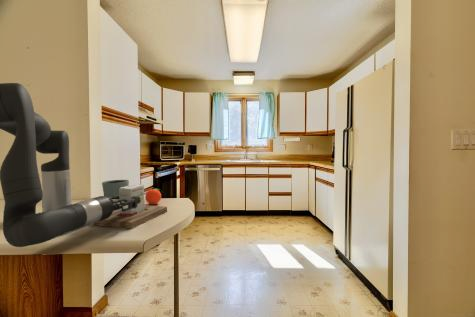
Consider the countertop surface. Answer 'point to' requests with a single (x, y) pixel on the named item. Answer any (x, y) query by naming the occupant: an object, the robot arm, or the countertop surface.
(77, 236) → the countertop surface
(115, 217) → the frame
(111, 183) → the grey cup
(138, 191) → the ink box
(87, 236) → the countertop surface
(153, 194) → the clementine
